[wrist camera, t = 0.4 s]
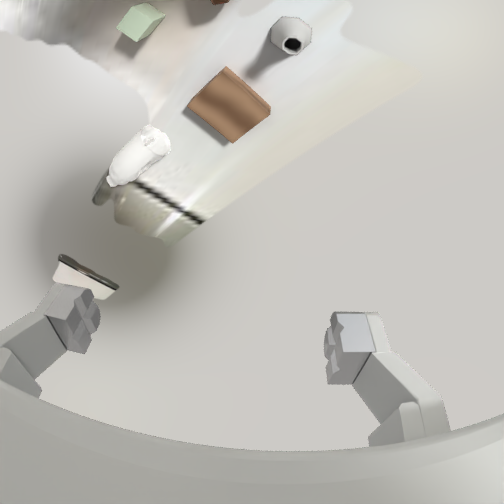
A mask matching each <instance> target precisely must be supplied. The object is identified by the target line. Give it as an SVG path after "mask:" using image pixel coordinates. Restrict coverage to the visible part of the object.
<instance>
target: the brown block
mask: <svg viewBox="0 0 504 504" xmlns="http://www.w3.org/2000/svg"><path fill="white" fill-rule="evenodd" d="M187 107H188V108H190V109H191V110H192V111H193V112H195V113H196V114H197V115H199V116H200V117H201V118H202V119H203V120H205V121H206V122H207V123H208V124H210V125H211V126H212V127H213V128H215V129H216V130H217V131H218V132H219V133H221V134H222V135H223V136H224V137H225V138H227V139H228V140H229V141H230V142H231V143H234V142H235V141H236V140H238V139H239V138H240V137H242V136H243V135H244V134H245V133H247V132H248V131H249V130H250V129H252V128H253V127H254V126H256V125H257V124H258V123H260V122H261V121H262V120H264V119H265V118H266V117H268V116H269V115H270V110H271V107H270V106H269V105H268V104H267V103H266V102H265V101H264V100H263V99H262V98H261V97H260V96H259V95H258V94H257V93H256V92H255V91H254V90H252V89H251V88H250V87H249V86H248V85H247V84H246V83H245V82H244V81H243V80H241V79H240V78H239V77H238V76H237V75H236V74H235V73H233V72H232V71H231V70H230V69H229V68H228V67H227V66H226V67H225V68H224V69H222V70H221V71H220V72H219V73H218V74H217V75H216V76H215V77H214V78H213V79H212V80H211V81H210V82H208V83H207V84H206V85H205V86H204V87H203V88H202V89H201V90H200V91H199V92H198V93H197V94H196V95H195V96H194V97H193V98H192V99H191V101H190V102H189V104H188V106H187Z"/></svg>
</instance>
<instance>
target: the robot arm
mask: <svg viewBox="0 0 504 504" xmlns="http://www.w3.org/2000/svg"><path fill="white" fill-rule="evenodd" d="M93 298H94V295H93V293H92V291H91V290H90V289H88V288H83V287H77V286H72V285H66V284H61V283H56V284H54V285H53V286H52V287H51V289H50V290H49V291H48V293H47V294H46V296H45V297H44V298H43V300H42V301H41V303H40V304H39V306H38V307H37V309H36V310H35V312H34V313H33V312H30V313H29V314H27V315H25V316H24V317H22V318H21V319H19V320H17V321H16V322H14V323H13V324H11V325H9V326H8V327H6V328H5V329H3V330H2V331H0V504H504V414H502V415H499V416H497V417H494V418H491V419H488V420H485V421H483V422H480V423H477V424H473V425H471V426H467V427H464V428H461V429H457V430H453V431H451V430H450V426H449V422H448V418H447V414H446V410H445V407H444V403H443V400H442V397H441V395H440V394H439V393H438V392H437V391H436V390H435V389H433V387H432V386H431V385H429V383H427V382H426V381H425V380H424V379H423V378H422V377H421V376H420V375H419V374H418V373H417V372H416V371H415V370H414V369H413V368H412V367H411V366H410V365H409V364H408V363H407V362H406V361H405V360H404V359H403V358H402V357H400V356H399V355H398V354H397V353H396V352H391V349H390V345H389V342H388V338H387V335H386V332H385V329H384V325H383V322H382V319H381V316H380V314H379V313H378V312H334V313H333V314H332V316H331V319H330V322H331V326H330V327H329V328H328V329H327V331H326V334H325V340H324V354H325V357H326V358H327V359H328V360H329V361H328V364H327V366H326V373H327V381H328V384H353V385H352V386H353V387H354V389H355V390H356V391H357V393H358V394H359V396H360V397H361V398H362V399H363V401H364V402H365V404H366V405H367V406H368V408H369V409H370V410H371V412H372V413H373V414H374V416H375V417H376V418H377V420H378V421H379V422H380V424H381V425H380V426H379V427H378V428H377V429H376V430H375V431H374V432H373V433H371V435H370V436H369V437H368V439H369V447H364V448H355V449H344V450H328V451H260V450H244V449H233V448H223V447H214V446H206V445H199V444H193V443H187V442H181V441H175V440H170V439H164V438H159V437H156V436H151V435H147V434H142V433H138V432H134V431H130V430H126V429H123V428H119V427H116V426H112V425H109V424H105V423H102V422H99V421H96V420H93V419H90V418H87V417H84V416H81V415H78V414H76V413H73V412H70V411H68V410H65V409H63V408H60V407H58V406H55V405H53V404H50V403H48V402H46V401H43V400H41V399H39V396H40V394H41V392H42V390H41V387H40V386H39V385H38V384H37V382H36V381H35V379H36V378H37V377H38V376H39V375H40V374H41V373H42V372H44V371H45V370H46V369H47V368H48V367H49V366H50V365H52V364H53V363H54V362H55V361H56V360H57V359H58V358H59V357H61V356H62V355H63V354H64V353H65V352H66V351H67V350H69V351H73V352H78V353H82V354H85V353H86V351H87V349H88V347H89V345H90V343H91V334H92V333H94V332H95V331H96V330H97V328H98V326H99V323H100V310H99V308H98V306H97V305H96V304H95V303H94V302H93Z"/></svg>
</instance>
